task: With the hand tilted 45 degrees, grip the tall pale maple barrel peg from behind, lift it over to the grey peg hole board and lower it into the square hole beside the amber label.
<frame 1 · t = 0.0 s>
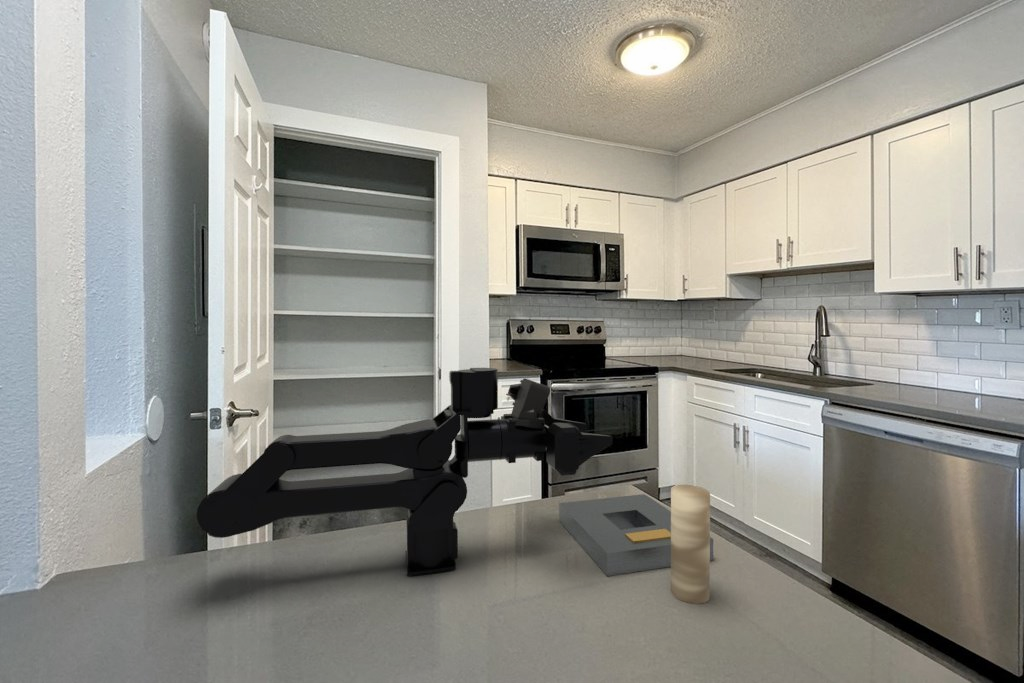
hand: (598, 432, 69), 16 cm above the countertop, tool horizontal, fingers open, 9 cm apart
grey peg hole board: (628, 538, 70), on the countertop
barrel peg: (689, 592, 55), on the countertop
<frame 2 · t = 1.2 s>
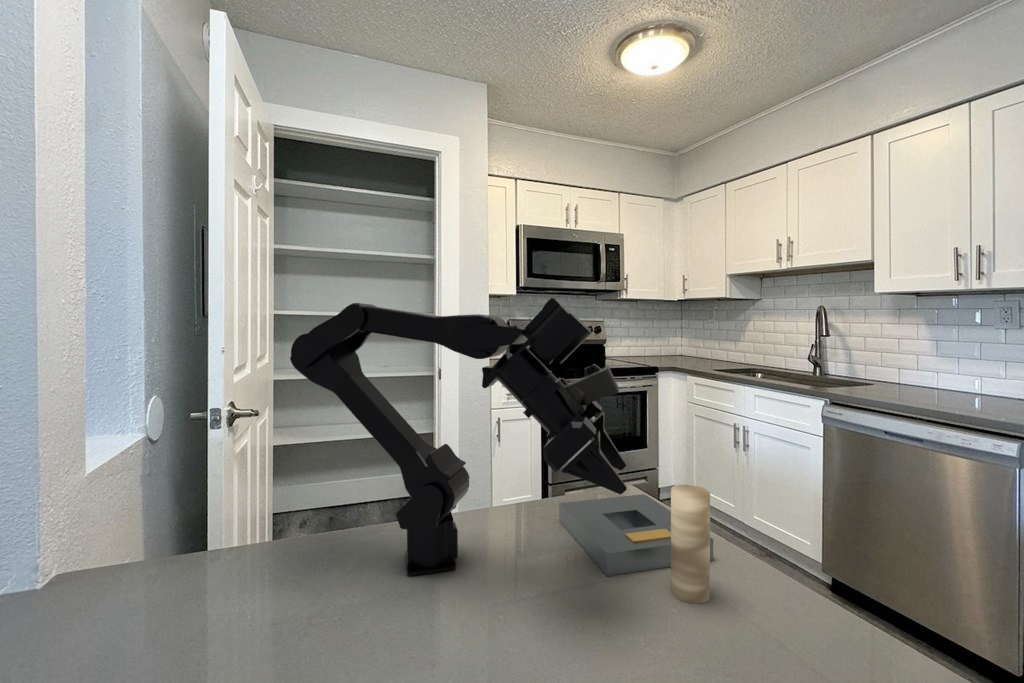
hand: (624, 478, 57), 13 cm above the countertop, tool tilted 45°, fingers open, 9 cm apart
nothing on the countertop moved.
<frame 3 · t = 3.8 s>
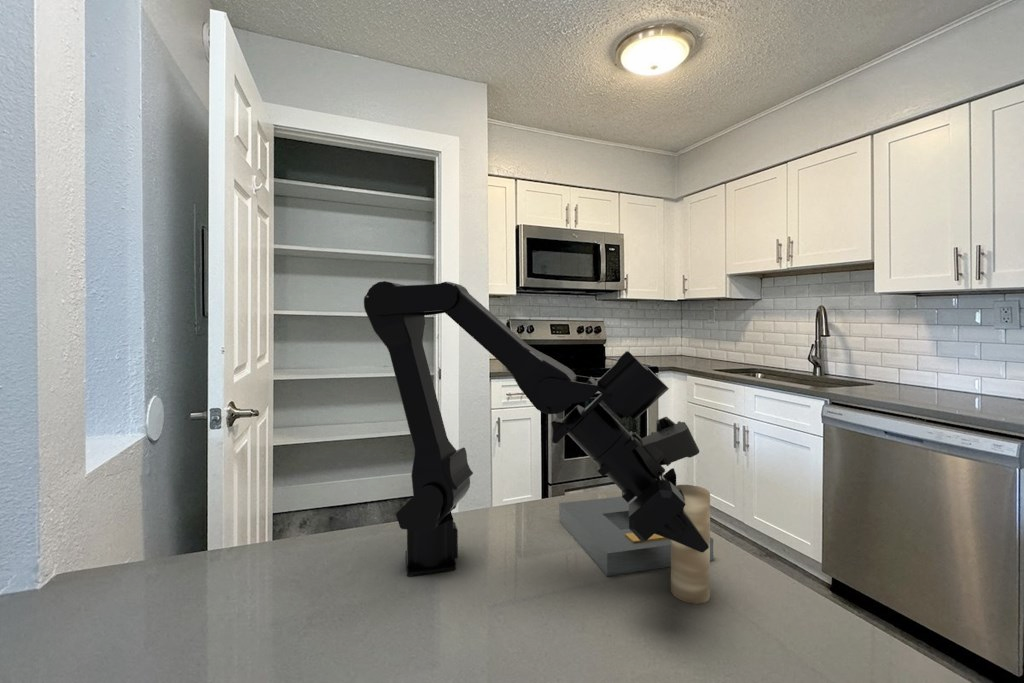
hand: (702, 540, 55), 7 cm above the countertop, tool tilted 45°, fingers closed on barrel peg, 4 cm apart
barrel peg: (689, 592, 55), on the countertop, touching gripper
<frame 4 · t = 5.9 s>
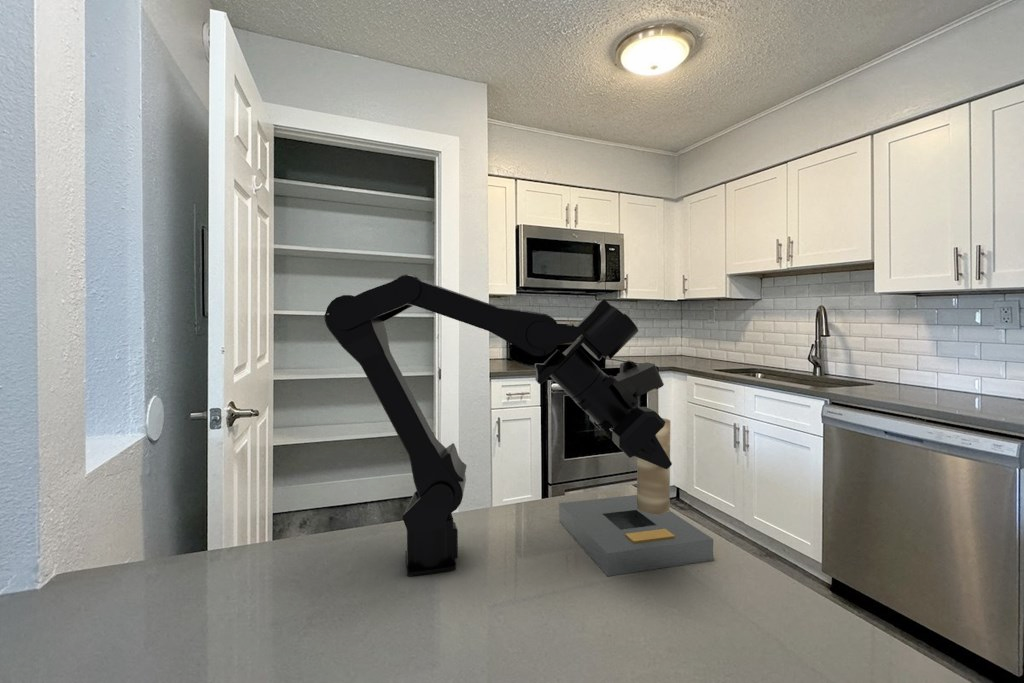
hand: (662, 461, 64), 13 cm above the countertop, tool tilted 45°, fingers closed on barrel peg, 4 cm apart
barrel peg: (653, 508, 65), point 7 cm above the countertop, touching gripper
when the fingers open (8 cm above the countertop, at t = 8.0 s): barrel peg drops 1 cm, resting in grey peg hole board.
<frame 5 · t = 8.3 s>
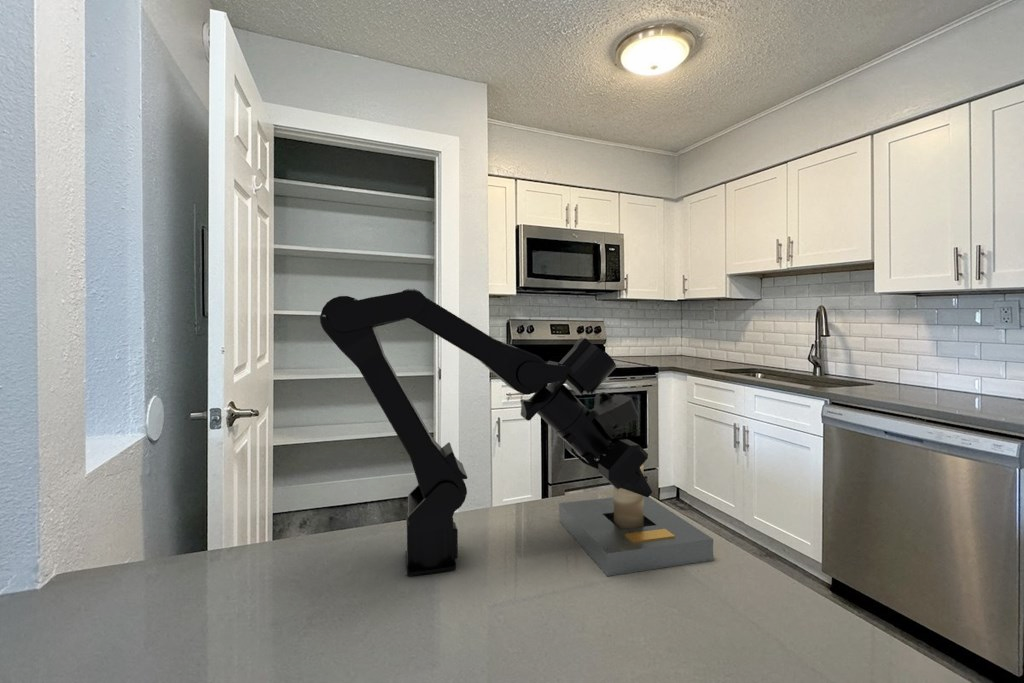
hand: (637, 485, 70), 8 cm above the countertop, tool tilted 45°, fingers open, 7 cm apart
barrel peg: (628, 538, 70), resting in grey peg hole board
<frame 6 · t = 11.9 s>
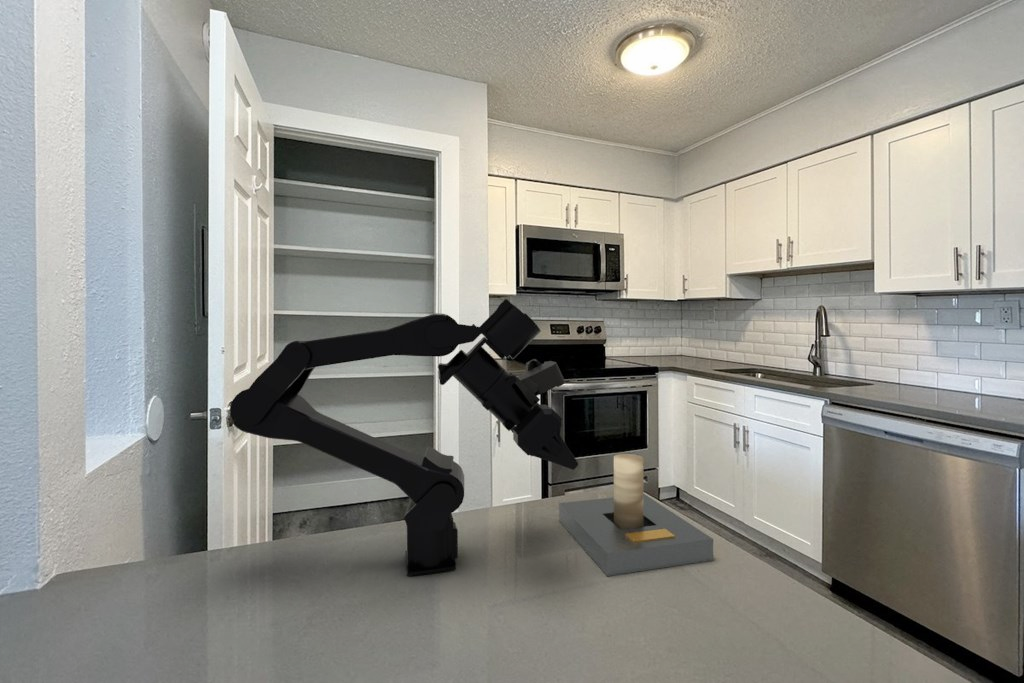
hand: (566, 457, 66), 14 cm above the countertop, tool tilted 45°, fingers open, 9 cm apart
nothing on the countertop moved.
at the end: barrel peg 0.0 cm off-centre on the grey peg hole board, point 0.0 cm above the grey peg hole board's base; barrel peg tilted 0°; the gripper is holding nothing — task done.
